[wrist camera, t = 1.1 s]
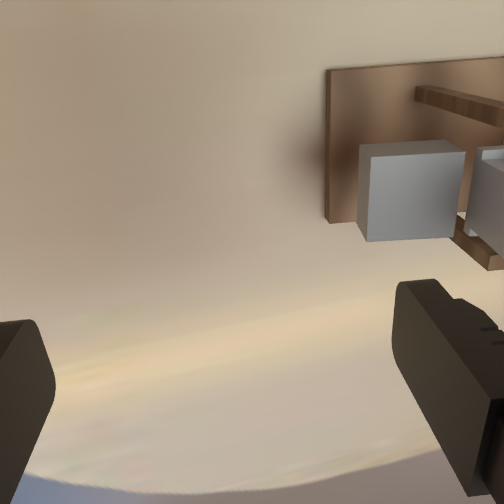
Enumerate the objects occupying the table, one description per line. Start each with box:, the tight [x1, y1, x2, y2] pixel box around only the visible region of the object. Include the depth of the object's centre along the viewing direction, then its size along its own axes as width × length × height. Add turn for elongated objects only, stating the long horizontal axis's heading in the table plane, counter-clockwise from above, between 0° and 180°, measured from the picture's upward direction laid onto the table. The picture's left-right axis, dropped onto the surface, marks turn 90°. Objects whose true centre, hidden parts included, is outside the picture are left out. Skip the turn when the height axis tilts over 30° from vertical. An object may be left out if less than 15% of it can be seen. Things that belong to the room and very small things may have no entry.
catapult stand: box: [325, 57, 504, 271], centre depth 31 cm, size 14×12×14 cm
